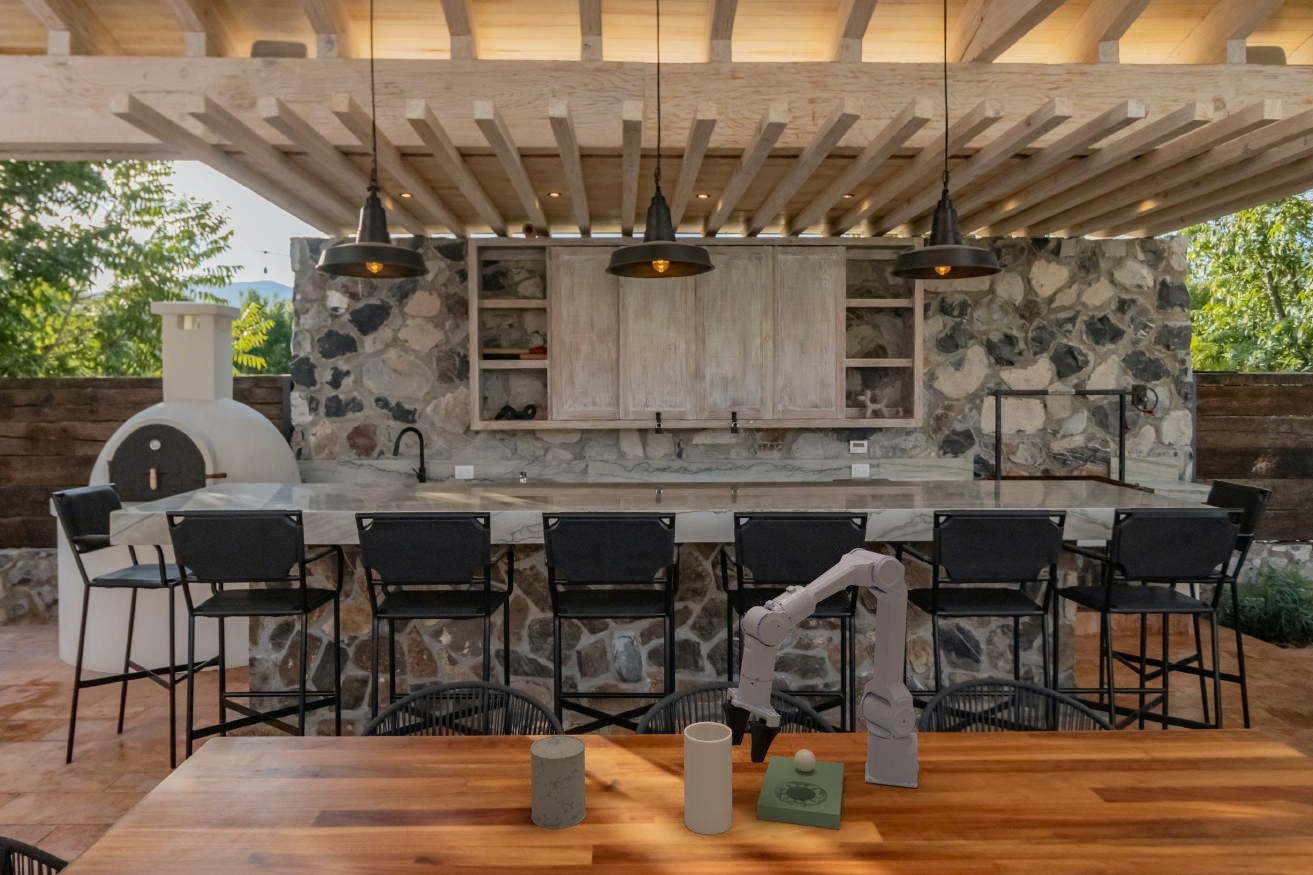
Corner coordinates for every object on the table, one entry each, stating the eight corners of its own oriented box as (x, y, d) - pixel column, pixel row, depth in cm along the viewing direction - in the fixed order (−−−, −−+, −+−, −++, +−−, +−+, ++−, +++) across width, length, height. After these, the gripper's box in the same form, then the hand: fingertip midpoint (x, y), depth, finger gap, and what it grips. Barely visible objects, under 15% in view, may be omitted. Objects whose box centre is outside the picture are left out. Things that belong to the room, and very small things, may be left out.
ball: (816, 767, 156) (816, 746, 156) (814, 776, 153) (815, 755, 152) (795, 764, 158) (795, 744, 157) (793, 774, 154) (793, 753, 153)
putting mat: (771, 767, 162) (771, 755, 162) (843, 775, 158) (843, 763, 158) (756, 818, 143) (756, 804, 142) (839, 829, 139) (839, 814, 139)
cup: (729, 836, 137) (729, 742, 136) (680, 831, 139) (680, 739, 138) (734, 812, 145) (734, 723, 144) (688, 807, 147) (688, 719, 146)
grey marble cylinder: (594, 805, 147) (593, 738, 147) (571, 832, 138) (571, 761, 138) (546, 797, 151) (545, 732, 150) (521, 823, 142) (520, 753, 141)
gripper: (717, 663, 150) (706, 737, 149) (759, 689, 137) (747, 770, 136) (750, 664, 153) (739, 737, 152) (794, 689, 139) (783, 769, 139)
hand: (745, 752), depth 145 cm, fingers open, 7 cm apart
